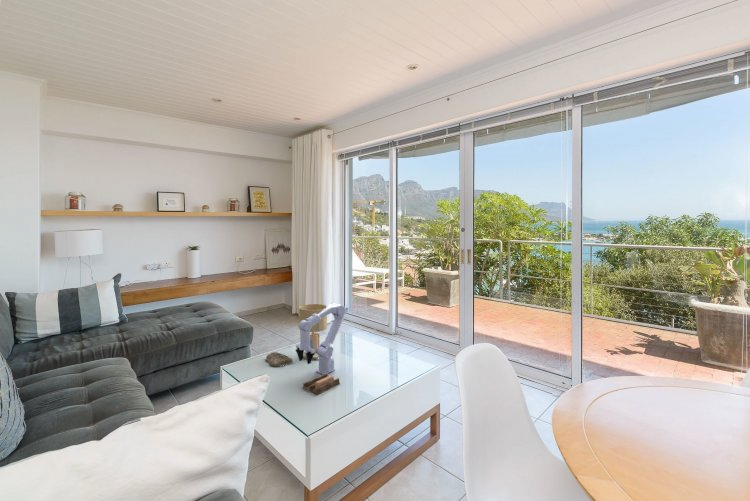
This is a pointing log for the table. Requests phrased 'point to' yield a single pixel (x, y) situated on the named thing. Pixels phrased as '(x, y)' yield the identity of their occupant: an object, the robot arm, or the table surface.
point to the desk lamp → (307, 312)
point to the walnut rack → (311, 386)
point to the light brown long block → (324, 381)
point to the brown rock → (278, 359)
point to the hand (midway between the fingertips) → (305, 362)
